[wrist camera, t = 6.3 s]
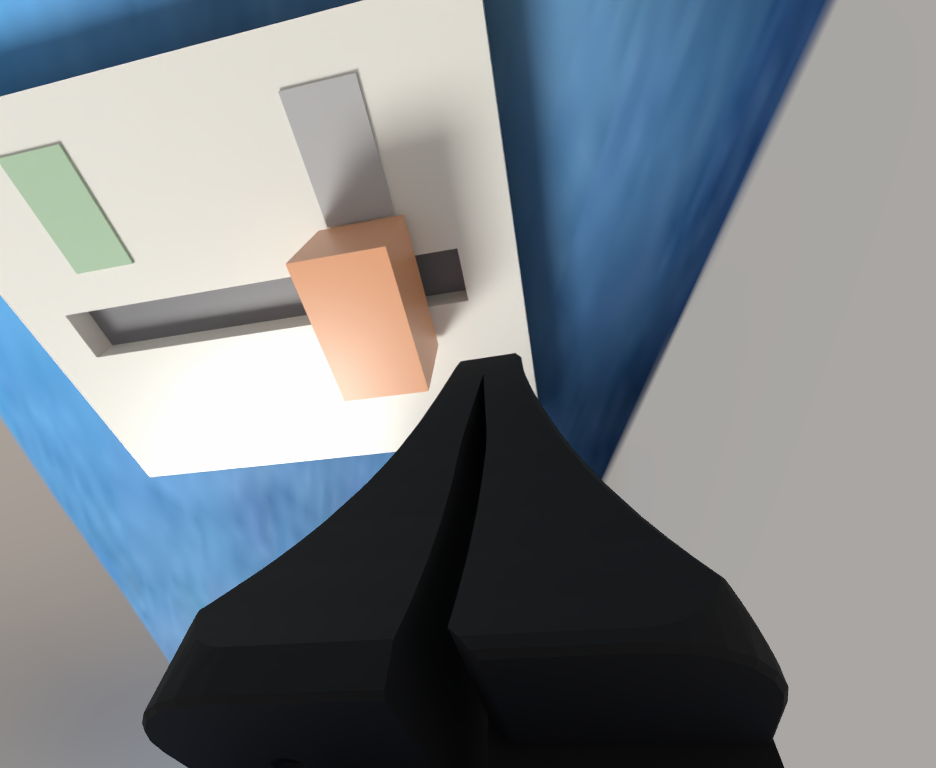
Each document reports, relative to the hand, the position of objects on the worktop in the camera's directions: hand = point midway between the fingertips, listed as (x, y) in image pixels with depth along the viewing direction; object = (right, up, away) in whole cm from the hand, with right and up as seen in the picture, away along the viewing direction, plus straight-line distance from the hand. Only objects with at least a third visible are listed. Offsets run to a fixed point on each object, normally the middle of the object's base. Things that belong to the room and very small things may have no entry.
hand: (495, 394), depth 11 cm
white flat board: (-8, +4, +9) cm, 13 cm away
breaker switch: (-4, +4, +7) cm, 9 cm away
